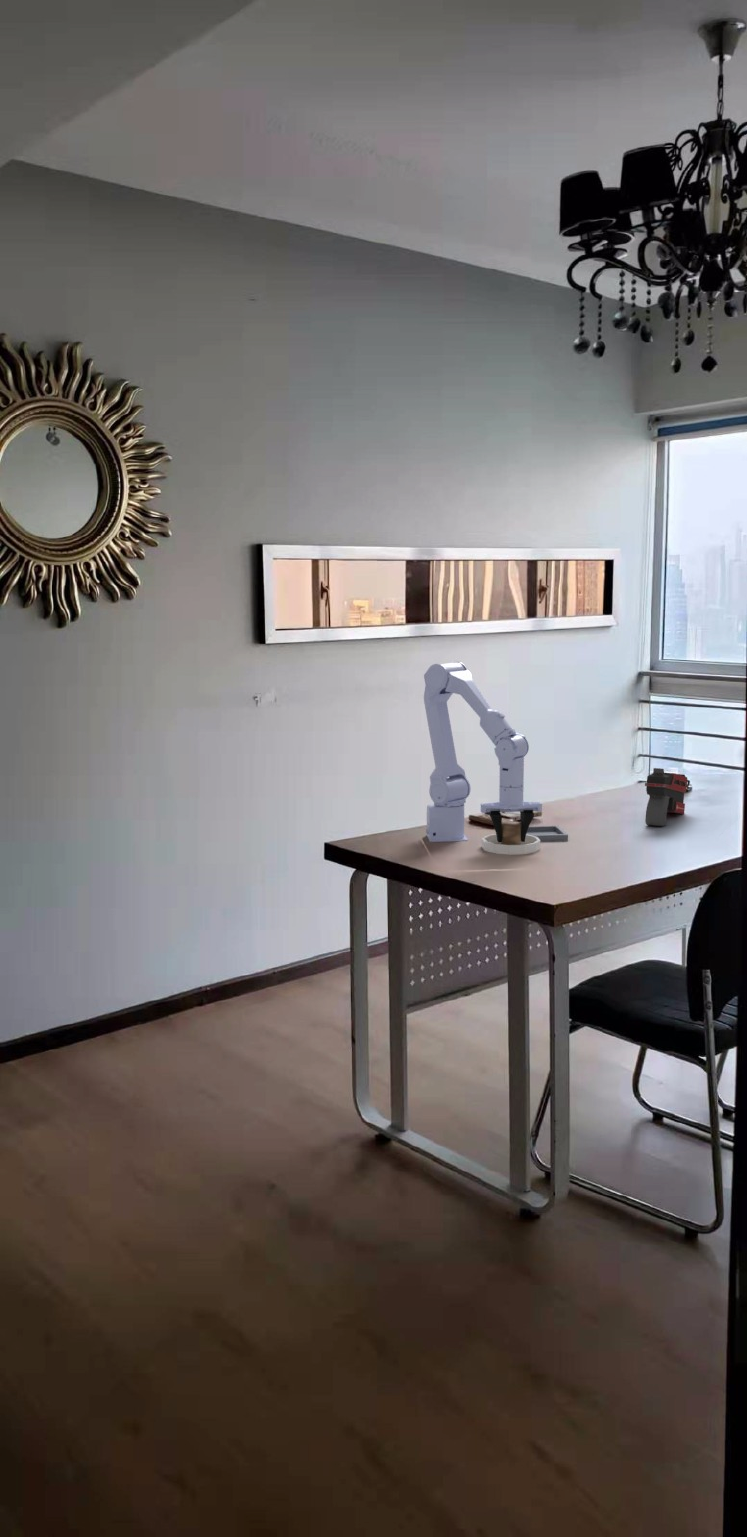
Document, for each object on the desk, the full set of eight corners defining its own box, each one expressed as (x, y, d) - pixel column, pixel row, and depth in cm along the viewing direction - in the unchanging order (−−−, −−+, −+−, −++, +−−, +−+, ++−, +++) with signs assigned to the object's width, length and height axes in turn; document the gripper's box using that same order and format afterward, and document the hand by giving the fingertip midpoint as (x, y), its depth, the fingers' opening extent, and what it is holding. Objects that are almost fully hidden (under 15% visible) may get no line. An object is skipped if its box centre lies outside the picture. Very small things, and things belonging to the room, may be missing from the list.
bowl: (487, 856, 280) (487, 846, 280) (478, 843, 294) (478, 833, 293) (544, 855, 281) (544, 844, 281) (532, 842, 294) (533, 832, 294)
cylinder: (502, 850, 285) (503, 825, 284) (499, 845, 289) (499, 821, 288) (522, 849, 285) (522, 825, 284) (518, 845, 290) (519, 821, 289)
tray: (523, 843, 294) (524, 835, 294) (515, 833, 305) (515, 826, 305) (567, 841, 295) (568, 834, 295) (557, 832, 306) (557, 825, 305)
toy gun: (641, 824, 310) (646, 766, 311) (663, 827, 331) (668, 773, 332) (661, 826, 308) (666, 768, 309) (683, 829, 329) (687, 775, 329)
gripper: (484, 789, 280) (483, 845, 283) (545, 787, 281) (544, 844, 284) (479, 784, 287) (479, 839, 289) (538, 782, 288) (538, 837, 291)
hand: (510, 841), depth 287 cm, fingers open, 5 cm apart
